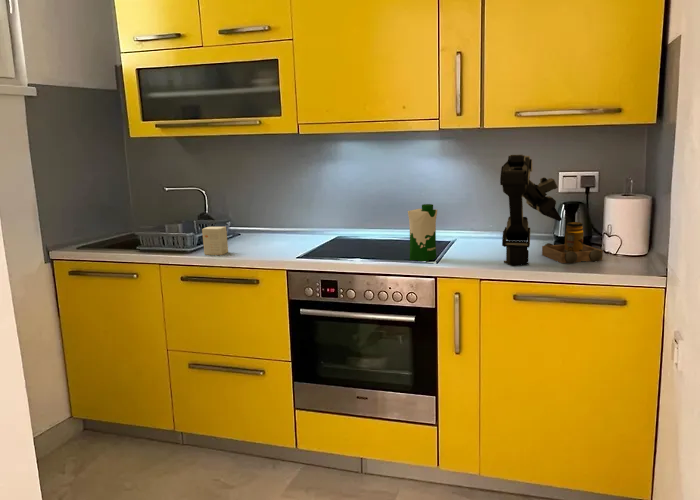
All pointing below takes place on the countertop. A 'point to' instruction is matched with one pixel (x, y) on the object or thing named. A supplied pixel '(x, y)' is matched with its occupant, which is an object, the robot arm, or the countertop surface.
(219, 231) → the small box
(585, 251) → the chassis bay
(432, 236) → the milk carton
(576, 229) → the condiment
